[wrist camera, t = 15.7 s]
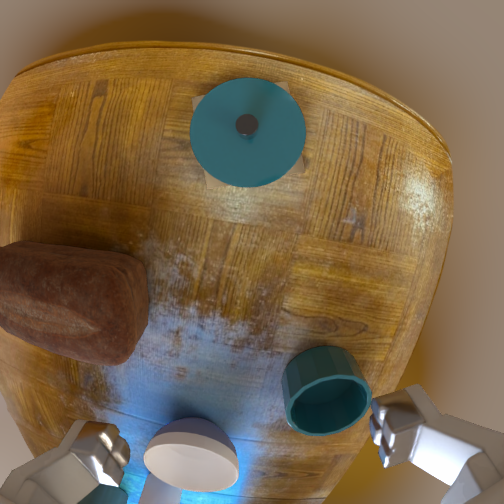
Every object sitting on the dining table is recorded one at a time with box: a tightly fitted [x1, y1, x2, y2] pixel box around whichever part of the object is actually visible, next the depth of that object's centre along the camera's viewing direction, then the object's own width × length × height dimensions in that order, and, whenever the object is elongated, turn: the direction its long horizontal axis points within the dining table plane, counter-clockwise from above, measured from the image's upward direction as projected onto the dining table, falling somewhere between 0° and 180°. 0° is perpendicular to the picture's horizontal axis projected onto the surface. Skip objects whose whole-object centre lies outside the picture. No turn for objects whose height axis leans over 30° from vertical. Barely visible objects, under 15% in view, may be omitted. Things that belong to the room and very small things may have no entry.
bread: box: [0, 241, 149, 366], centre depth 34 cm, size 14×28×12 cm, turn 84°
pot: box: [282, 346, 372, 436], centre depth 39 cm, size 12×12×8 cm
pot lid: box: [190, 78, 306, 187], centre depth 31 cm, size 14×14×5 cm
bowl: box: [143, 417, 239, 492], centre depth 42 cm, size 16×16×10 cm
